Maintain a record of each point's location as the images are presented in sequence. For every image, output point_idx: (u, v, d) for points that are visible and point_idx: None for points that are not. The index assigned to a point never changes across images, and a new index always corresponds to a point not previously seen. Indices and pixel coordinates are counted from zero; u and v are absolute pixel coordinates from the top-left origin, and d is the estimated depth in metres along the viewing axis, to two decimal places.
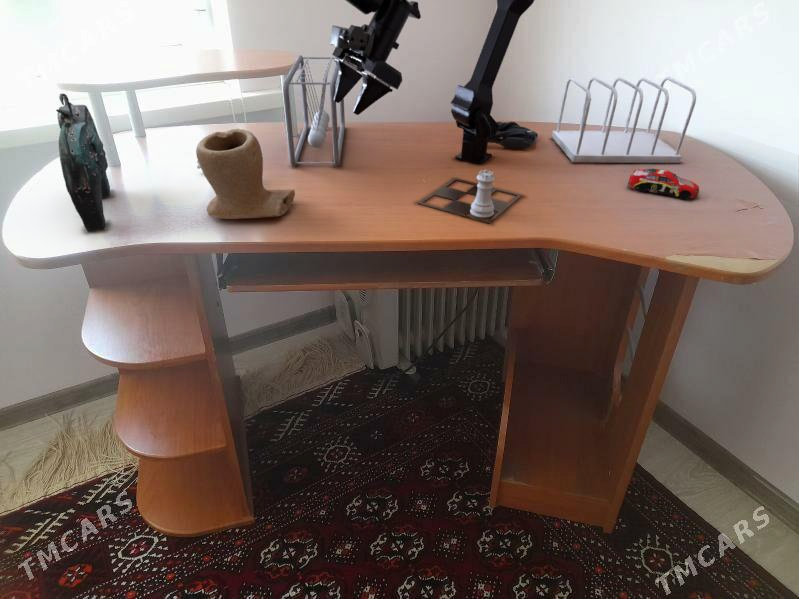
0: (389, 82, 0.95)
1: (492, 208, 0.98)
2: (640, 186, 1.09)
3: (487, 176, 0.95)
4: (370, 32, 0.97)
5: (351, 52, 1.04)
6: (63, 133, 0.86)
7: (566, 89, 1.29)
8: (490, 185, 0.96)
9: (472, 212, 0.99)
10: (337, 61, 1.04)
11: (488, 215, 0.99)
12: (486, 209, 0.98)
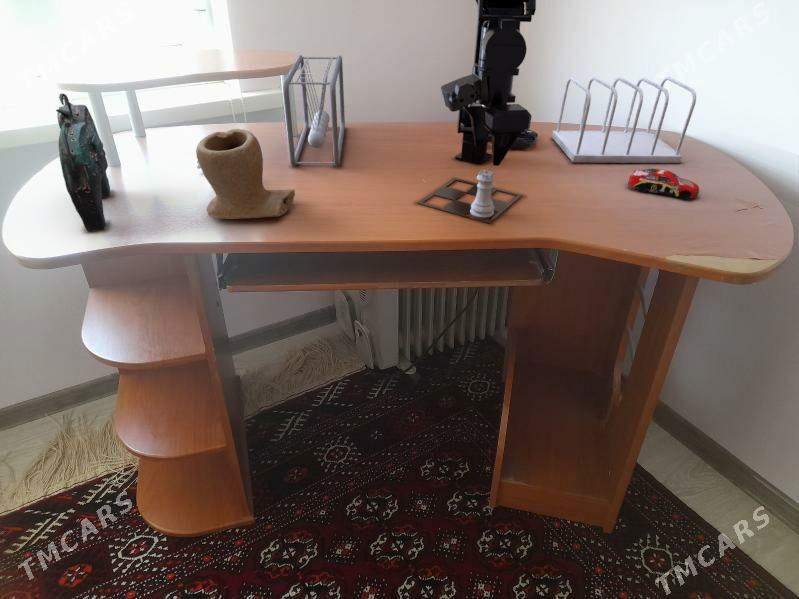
0: (516, 127, 0.82)
1: (492, 208, 0.98)
2: (640, 186, 1.09)
3: (487, 176, 0.95)
4: (480, 76, 0.84)
5: None
6: (63, 133, 0.86)
7: (566, 89, 1.29)
8: (490, 185, 0.96)
9: (472, 212, 0.99)
10: (464, 108, 0.95)
11: (488, 215, 0.99)
12: (486, 209, 0.98)
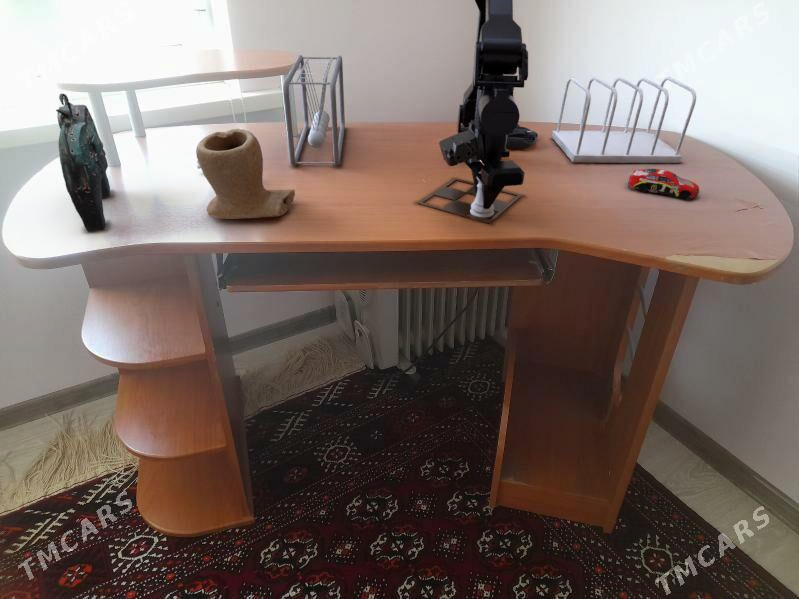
0: (510, 184, 0.88)
1: (492, 208, 0.98)
2: (640, 186, 1.09)
3: None
4: (476, 134, 0.89)
5: None
6: (63, 133, 0.86)
7: (566, 89, 1.29)
8: None
9: (472, 212, 0.99)
10: None
11: (488, 215, 0.99)
12: (486, 209, 0.98)
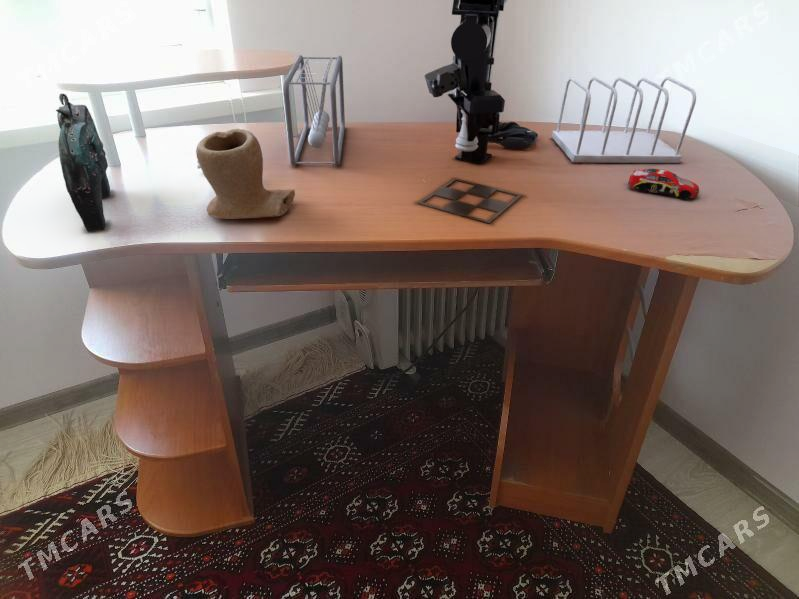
0: (491, 111, 0.92)
1: (476, 141, 1.03)
2: (640, 186, 1.09)
3: None
4: (459, 65, 0.94)
5: None
6: (63, 133, 0.86)
7: (566, 89, 1.29)
8: None
9: (457, 146, 1.04)
10: None
11: (472, 148, 1.03)
12: (470, 141, 1.03)
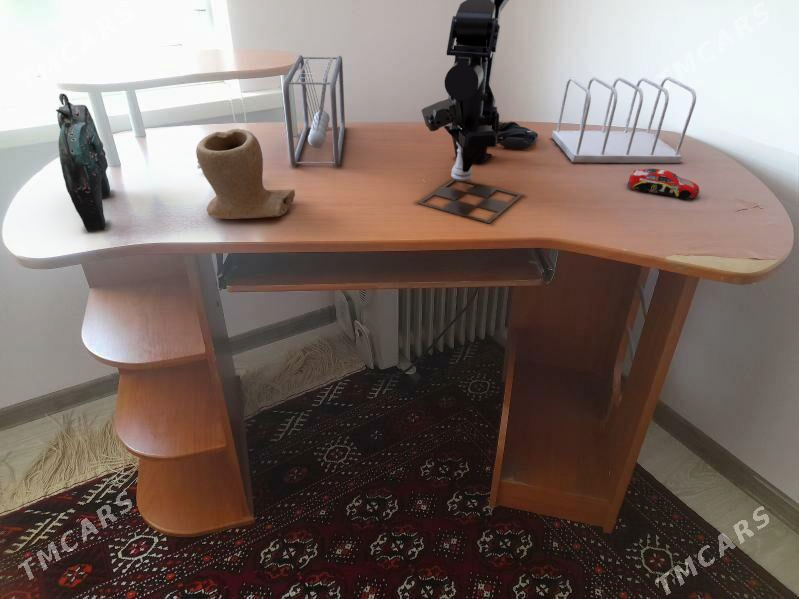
0: (484, 146, 0.97)
1: (471, 171, 1.08)
2: (640, 186, 1.09)
3: None
4: (455, 102, 0.99)
5: None
6: (63, 133, 0.86)
7: (566, 89, 1.29)
8: None
9: (453, 175, 1.09)
10: None
11: (467, 178, 1.08)
12: (465, 172, 1.07)
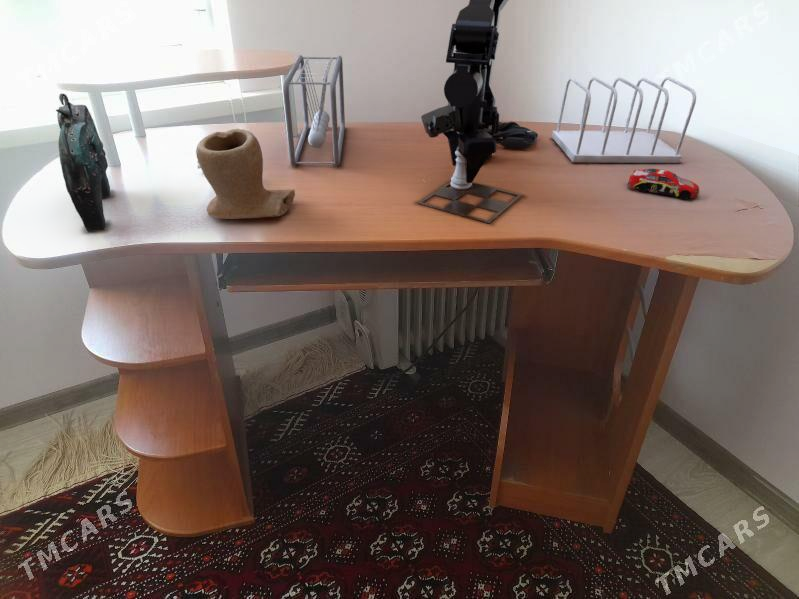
0: (484, 152, 0.98)
1: None
2: (640, 186, 1.09)
3: None
4: (454, 108, 0.99)
5: None
6: (63, 133, 0.86)
7: (566, 89, 1.29)
8: None
9: (452, 184, 1.10)
10: (442, 132, 1.10)
11: (466, 187, 1.09)
12: (464, 181, 1.08)
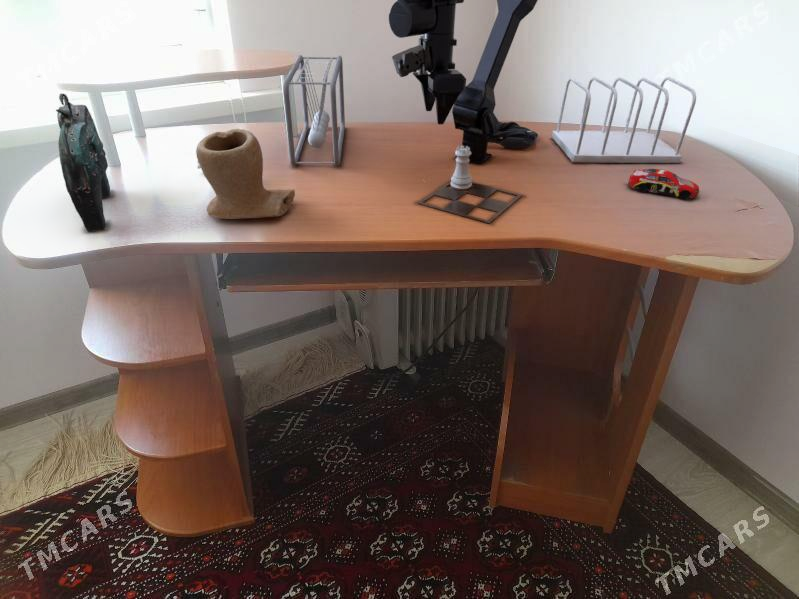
0: (453, 89, 0.98)
1: (470, 180, 1.09)
2: (640, 186, 1.09)
3: (464, 151, 1.05)
4: (424, 46, 1.00)
5: None
6: (63, 133, 0.86)
7: (566, 89, 1.29)
8: (467, 159, 1.07)
9: (452, 184, 1.10)
10: (415, 76, 1.10)
11: (466, 187, 1.09)
12: (464, 181, 1.08)
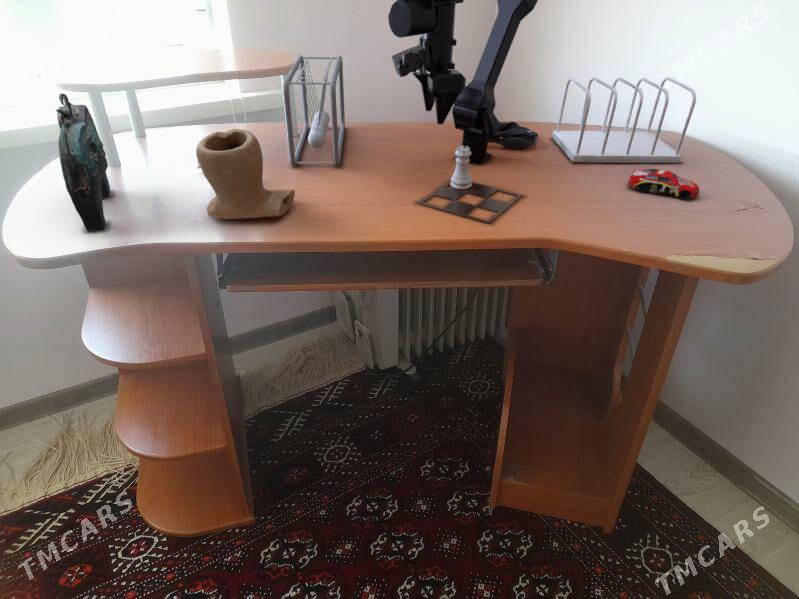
0: (452, 89, 0.98)
1: (470, 180, 1.09)
2: (640, 186, 1.09)
3: (464, 151, 1.05)
4: (424, 46, 1.00)
5: None
6: (63, 133, 0.86)
7: (566, 89, 1.29)
8: (467, 159, 1.07)
9: (452, 184, 1.10)
10: None
11: (466, 187, 1.09)
12: (464, 181, 1.08)
